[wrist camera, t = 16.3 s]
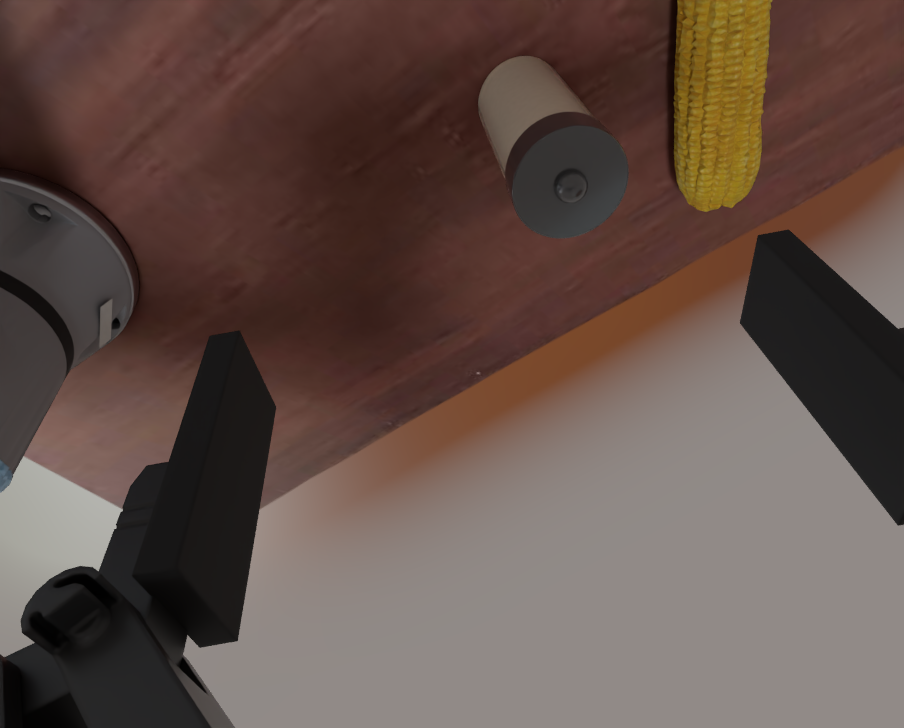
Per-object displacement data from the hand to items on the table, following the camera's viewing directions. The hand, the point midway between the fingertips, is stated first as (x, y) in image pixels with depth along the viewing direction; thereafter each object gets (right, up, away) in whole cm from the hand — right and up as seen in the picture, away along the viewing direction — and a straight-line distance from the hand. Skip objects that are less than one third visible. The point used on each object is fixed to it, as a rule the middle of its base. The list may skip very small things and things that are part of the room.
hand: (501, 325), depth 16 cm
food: (+16, +21, +25) cm, 36 cm away
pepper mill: (+3, +17, +26) cm, 32 cm away
